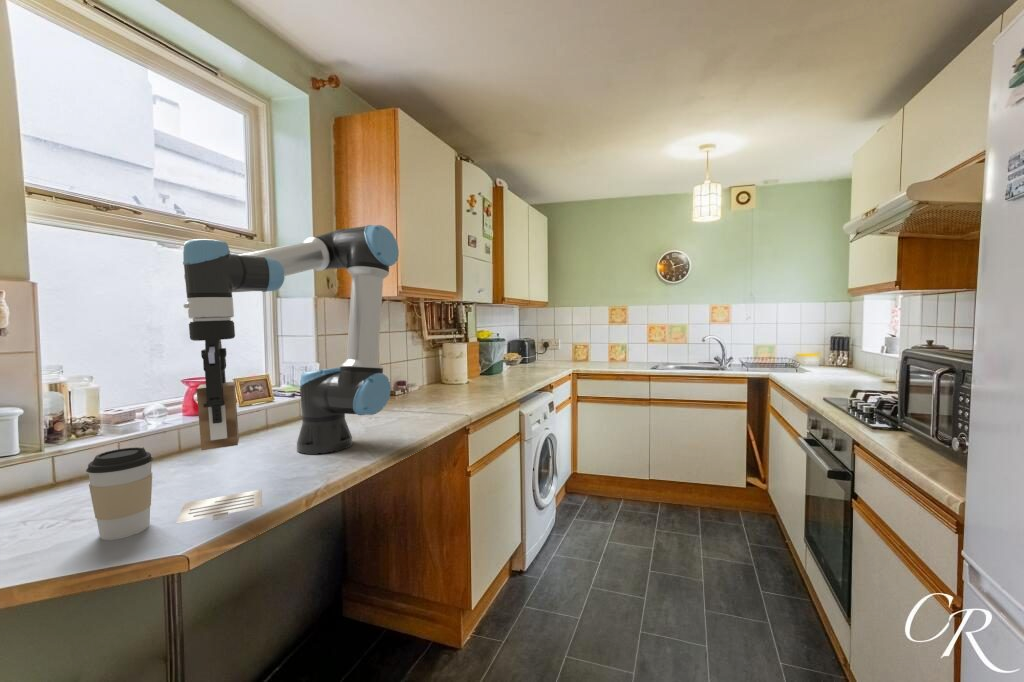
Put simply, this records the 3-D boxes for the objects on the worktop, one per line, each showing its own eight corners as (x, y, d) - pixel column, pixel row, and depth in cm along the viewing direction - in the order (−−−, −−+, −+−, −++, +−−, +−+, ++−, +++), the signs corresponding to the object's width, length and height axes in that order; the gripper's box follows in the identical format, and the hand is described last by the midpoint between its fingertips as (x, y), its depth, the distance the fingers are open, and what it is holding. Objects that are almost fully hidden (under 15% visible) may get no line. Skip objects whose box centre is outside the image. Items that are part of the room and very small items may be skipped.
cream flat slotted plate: (269, 488, 103) (269, 485, 103) (271, 511, 90) (271, 508, 90) (176, 504, 94) (176, 502, 94) (163, 533, 82) (163, 530, 81)
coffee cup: (81, 550, 76) (74, 461, 75) (104, 528, 84) (98, 447, 83) (148, 538, 80) (142, 453, 79) (163, 518, 88) (158, 441, 87)
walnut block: (238, 438, 96) (234, 381, 95) (237, 445, 91) (233, 385, 90) (204, 443, 93) (200, 384, 92) (201, 450, 88) (196, 388, 87)
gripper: (194, 320, 97) (203, 427, 98) (181, 320, 80) (191, 450, 82) (235, 319, 101) (243, 422, 102) (231, 319, 84) (240, 443, 85)
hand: (220, 434), depth 92 cm, fingers closed on walnut block, 6 cm apart
